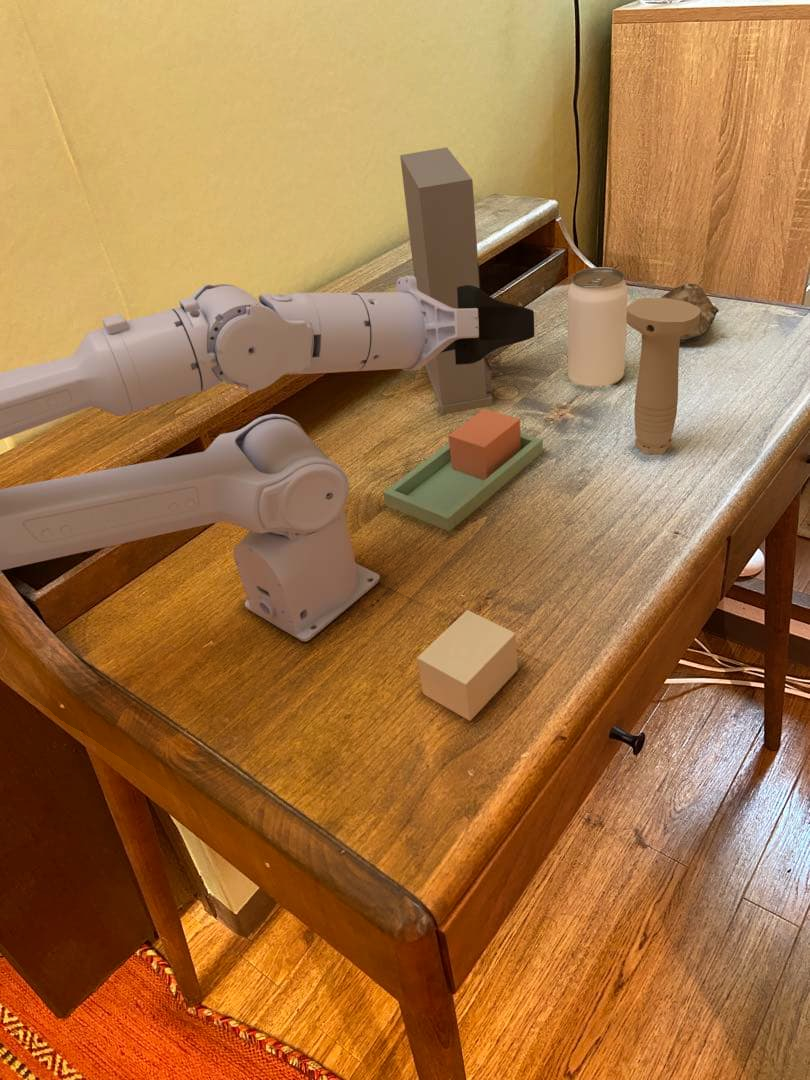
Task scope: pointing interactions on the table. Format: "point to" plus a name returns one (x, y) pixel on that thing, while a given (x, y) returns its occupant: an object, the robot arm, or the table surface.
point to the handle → (658, 367)
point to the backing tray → (453, 486)
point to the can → (597, 326)
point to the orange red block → (484, 443)
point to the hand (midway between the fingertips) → (502, 327)
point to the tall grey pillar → (445, 263)
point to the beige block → (468, 664)
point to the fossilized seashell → (699, 299)
